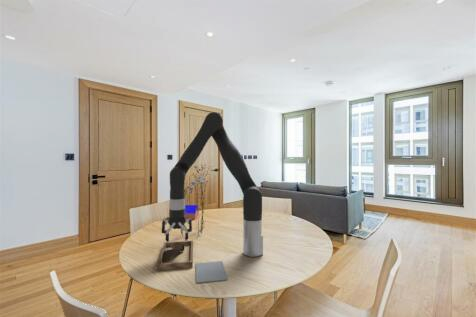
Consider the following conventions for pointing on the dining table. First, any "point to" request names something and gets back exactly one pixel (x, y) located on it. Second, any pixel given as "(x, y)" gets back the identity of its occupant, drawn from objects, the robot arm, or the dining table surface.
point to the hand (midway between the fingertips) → (177, 240)
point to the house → (191, 212)
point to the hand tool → (172, 252)
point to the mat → (210, 272)
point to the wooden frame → (175, 264)
